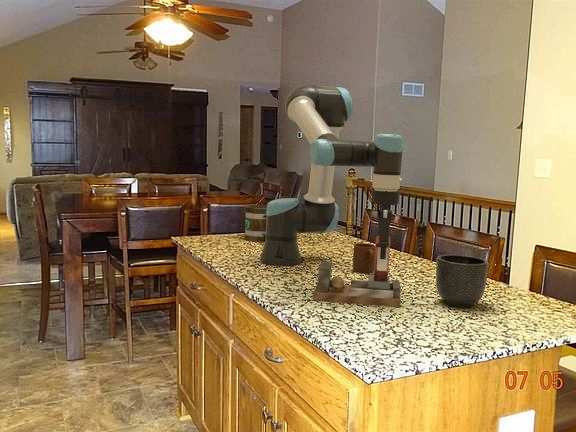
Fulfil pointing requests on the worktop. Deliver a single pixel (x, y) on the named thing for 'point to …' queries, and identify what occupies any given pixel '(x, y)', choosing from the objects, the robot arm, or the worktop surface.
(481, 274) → the planter
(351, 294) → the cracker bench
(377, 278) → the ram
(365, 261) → the mug
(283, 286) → the worktop surface
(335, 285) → the walnut
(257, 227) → the mug
